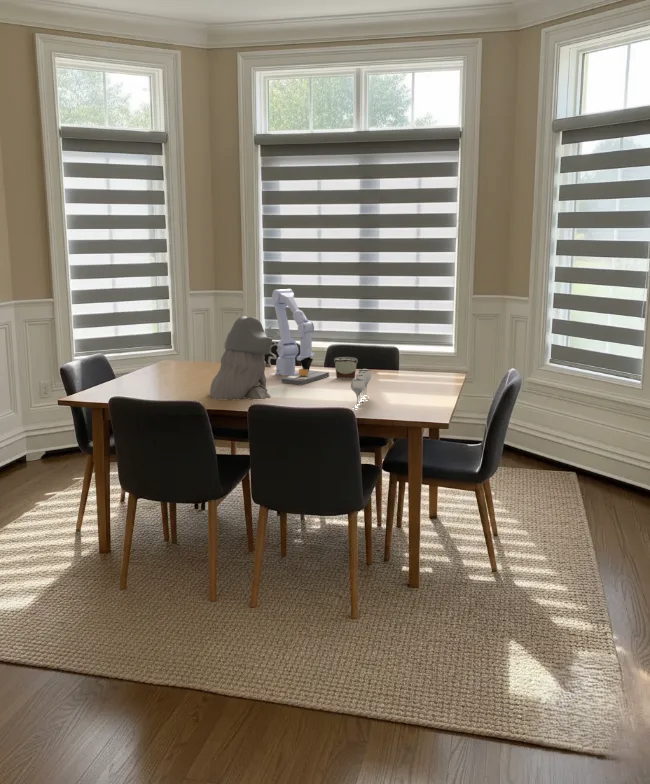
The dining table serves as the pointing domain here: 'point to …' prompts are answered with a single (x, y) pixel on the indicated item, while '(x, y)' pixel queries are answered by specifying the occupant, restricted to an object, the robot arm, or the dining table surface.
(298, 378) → the console
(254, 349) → the bust
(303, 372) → the fader
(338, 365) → the food container
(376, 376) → the dining table surface
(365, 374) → the goblet set
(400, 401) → the dining table surface
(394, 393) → the dining table surface
